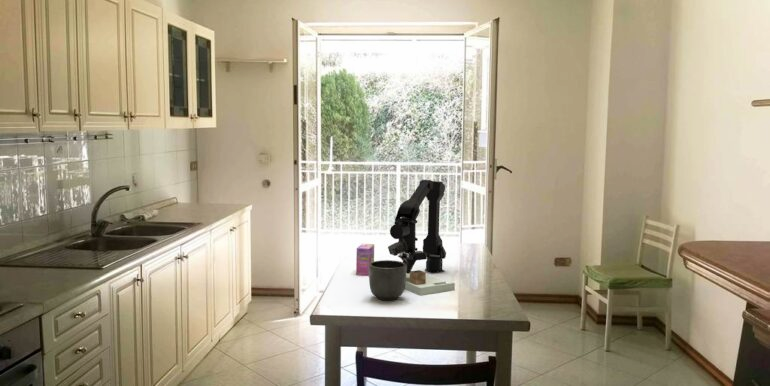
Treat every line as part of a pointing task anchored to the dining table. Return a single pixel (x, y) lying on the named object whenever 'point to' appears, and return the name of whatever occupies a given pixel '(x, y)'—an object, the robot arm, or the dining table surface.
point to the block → (417, 277)
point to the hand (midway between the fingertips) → (408, 273)
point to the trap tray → (429, 286)
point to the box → (364, 258)
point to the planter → (387, 279)
